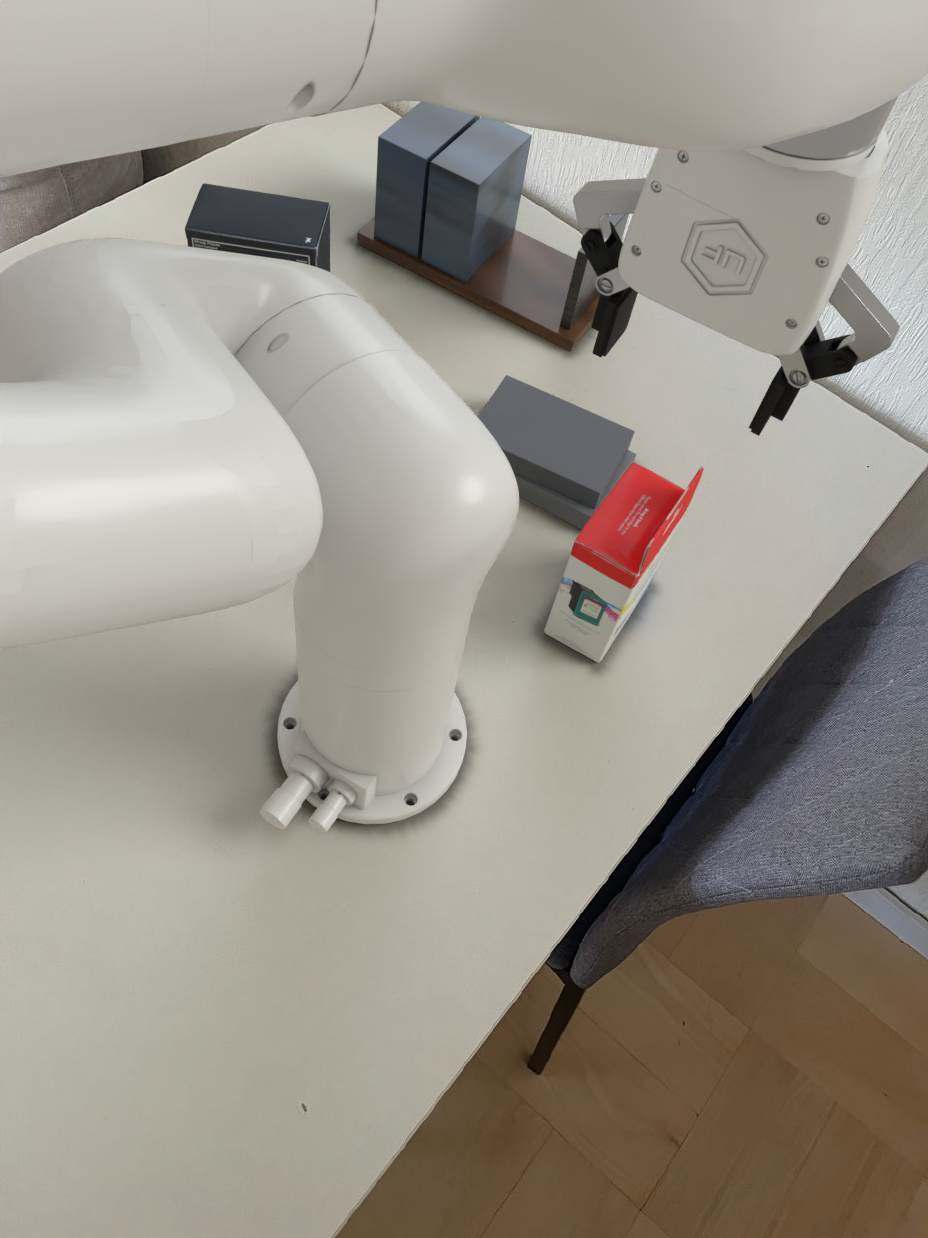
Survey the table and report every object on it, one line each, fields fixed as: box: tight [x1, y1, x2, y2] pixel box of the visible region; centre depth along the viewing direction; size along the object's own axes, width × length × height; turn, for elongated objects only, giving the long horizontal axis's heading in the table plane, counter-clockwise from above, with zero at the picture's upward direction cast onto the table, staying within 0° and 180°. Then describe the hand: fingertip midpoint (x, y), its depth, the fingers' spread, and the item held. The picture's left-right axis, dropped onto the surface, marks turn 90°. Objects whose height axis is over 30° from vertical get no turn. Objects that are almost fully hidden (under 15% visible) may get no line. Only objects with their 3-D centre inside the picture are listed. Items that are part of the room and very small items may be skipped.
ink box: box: [543, 461, 705, 664], centre depth 70 cm, size 8×5×15 cm, turn 148°
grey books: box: [477, 374, 637, 531], centre depth 82 cm, size 8×12×4 cm
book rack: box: [356, 101, 630, 352], centre depth 91 cm, size 10×23×11 cm, turn 59°
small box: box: [184, 182, 331, 273], centre depth 84 cm, size 11×6×10 cm, turn 84°
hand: (684, 379), depth 57 cm, fingers open, 9 cm apart
